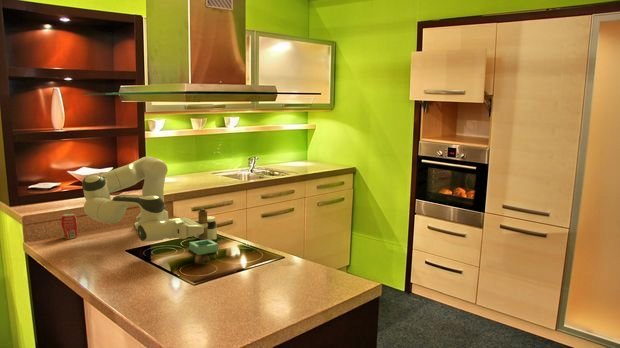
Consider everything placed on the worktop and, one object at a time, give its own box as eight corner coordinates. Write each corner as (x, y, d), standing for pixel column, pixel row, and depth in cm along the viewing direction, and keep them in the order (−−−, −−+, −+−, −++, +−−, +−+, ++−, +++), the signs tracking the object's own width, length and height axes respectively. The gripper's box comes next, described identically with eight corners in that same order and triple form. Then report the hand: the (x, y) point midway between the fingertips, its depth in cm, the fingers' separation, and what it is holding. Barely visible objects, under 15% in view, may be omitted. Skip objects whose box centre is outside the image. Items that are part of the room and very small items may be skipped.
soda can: (70, 235, 254) (68, 212, 252) (81, 236, 251) (79, 213, 249) (59, 238, 247) (57, 215, 245) (70, 240, 245) (68, 216, 243)
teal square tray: (189, 249, 231) (189, 242, 230) (209, 246, 237) (209, 239, 236) (198, 255, 223) (197, 247, 222) (218, 251, 229) (218, 244, 228)
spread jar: (214, 243, 241) (213, 220, 239) (191, 243, 241) (190, 220, 240) (219, 236, 253) (218, 214, 251) (197, 236, 253) (196, 214, 252)
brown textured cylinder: (197, 238, 229) (196, 208, 227) (205, 236, 231) (204, 207, 229) (201, 240, 226) (200, 210, 224) (209, 238, 228) (208, 209, 226)
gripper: (168, 229, 229) (196, 225, 237) (184, 239, 213) (214, 235, 221) (167, 216, 228) (195, 212, 236) (184, 225, 212) (213, 221, 220)
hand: (204, 223), depth 228 cm, fingers closed on brown textured cylinder, 4 cm apart
